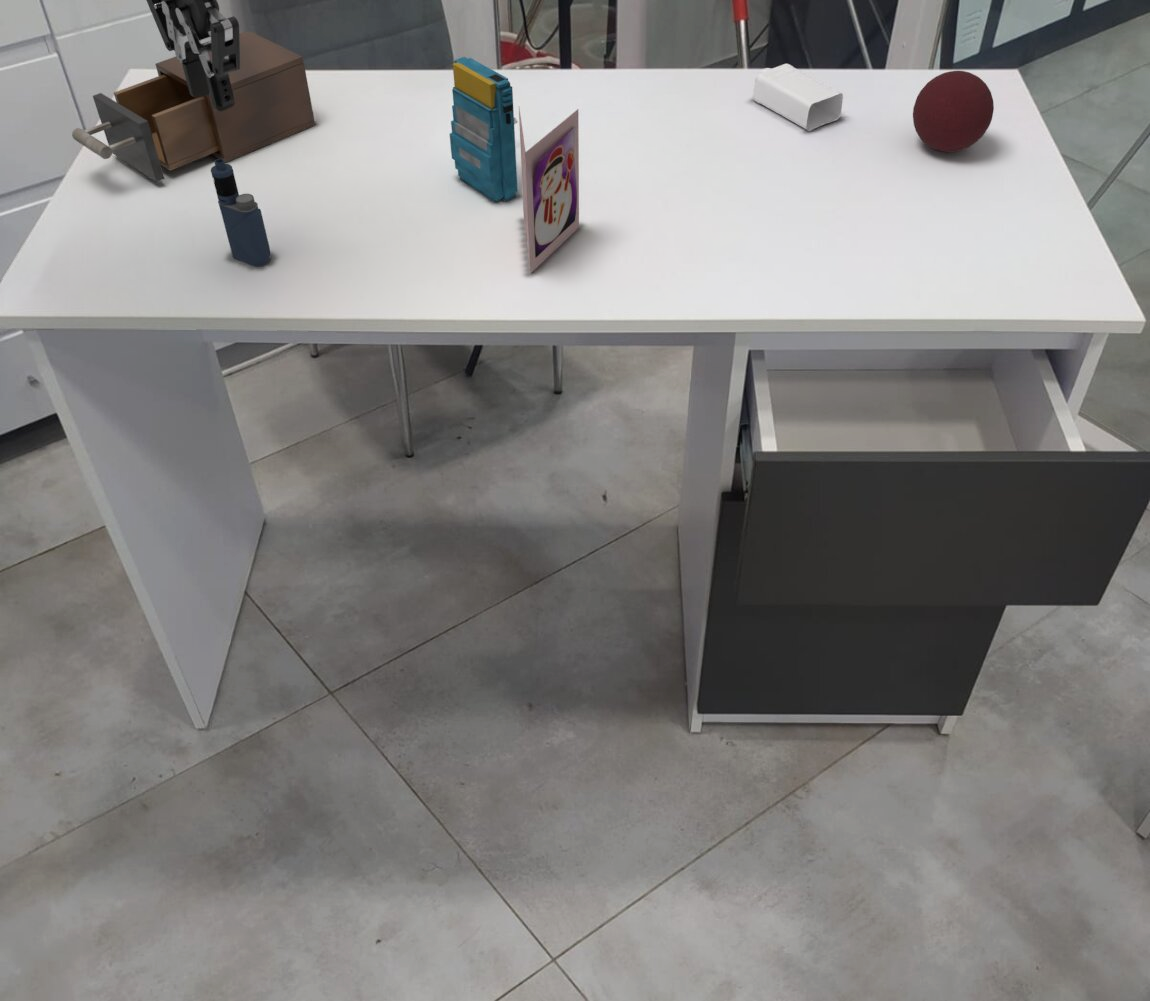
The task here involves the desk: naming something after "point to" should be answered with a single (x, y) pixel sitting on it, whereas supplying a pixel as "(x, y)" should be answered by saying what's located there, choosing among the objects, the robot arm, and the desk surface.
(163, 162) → the drawer
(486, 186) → the teal upright block
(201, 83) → the robot arm
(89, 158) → the desk surface
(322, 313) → the desk surface
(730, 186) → the desk surface
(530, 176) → the greeting card
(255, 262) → the vaping device
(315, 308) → the desk surface
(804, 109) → the white rectangular box
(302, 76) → the cabinet
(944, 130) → the decorative ball
